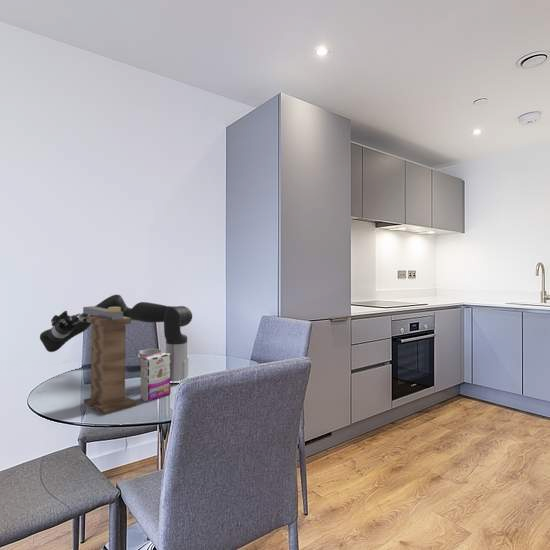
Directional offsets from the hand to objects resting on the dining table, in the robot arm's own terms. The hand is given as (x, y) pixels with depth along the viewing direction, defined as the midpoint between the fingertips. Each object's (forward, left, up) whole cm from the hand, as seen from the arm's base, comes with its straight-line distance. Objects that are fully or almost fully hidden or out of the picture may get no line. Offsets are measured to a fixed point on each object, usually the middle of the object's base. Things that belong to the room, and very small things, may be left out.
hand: (77, 312), depth 159 cm
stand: (-22, +18, -31) cm, 42 cm away
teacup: (-17, -35, -32) cm, 50 cm away
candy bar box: (-36, +9, -32) cm, 49 cm away
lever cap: (-17, +14, +1) cm, 22 cm away
